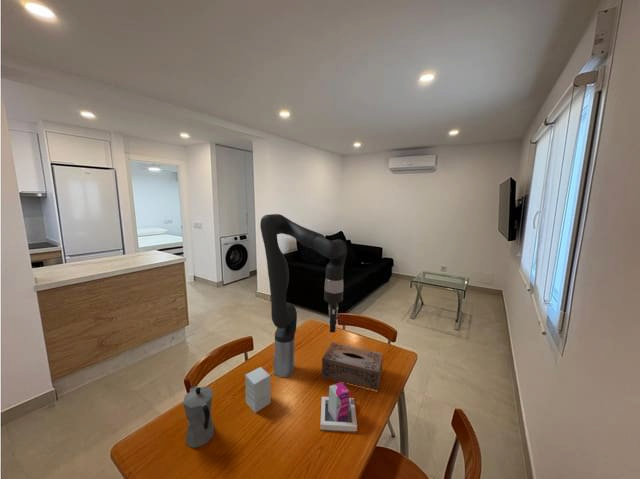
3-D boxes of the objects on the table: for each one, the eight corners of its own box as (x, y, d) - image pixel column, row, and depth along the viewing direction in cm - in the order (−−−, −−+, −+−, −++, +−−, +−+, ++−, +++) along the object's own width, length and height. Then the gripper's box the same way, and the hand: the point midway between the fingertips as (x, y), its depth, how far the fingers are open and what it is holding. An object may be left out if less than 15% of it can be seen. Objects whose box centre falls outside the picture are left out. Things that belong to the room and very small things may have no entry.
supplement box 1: (261, 393, 106) (261, 366, 104) (271, 403, 101) (271, 375, 99) (245, 402, 101) (244, 374, 99) (254, 414, 96) (254, 384, 94)
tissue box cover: (321, 377, 117) (322, 358, 116) (331, 360, 130) (331, 342, 129) (377, 393, 108) (379, 372, 107) (381, 372, 122) (382, 353, 120)
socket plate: (320, 430, 90) (320, 423, 89) (321, 401, 102) (321, 395, 102) (356, 432, 89) (357, 425, 89) (353, 403, 102) (353, 397, 101)
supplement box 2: (335, 424, 92) (336, 396, 90) (327, 412, 97) (328, 385, 95) (348, 418, 94) (349, 391, 93) (340, 407, 99) (341, 380, 98)
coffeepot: (179, 430, 88) (176, 384, 85) (207, 415, 94) (205, 372, 92) (193, 464, 77) (191, 412, 74) (224, 444, 83) (222, 396, 81)
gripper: (325, 283, 108) (323, 318, 110) (324, 295, 94) (322, 335, 96) (342, 283, 108) (340, 319, 110) (344, 295, 94) (342, 336, 96)
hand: (332, 326), depth 103 cm, fingers open, 8 cm apart
